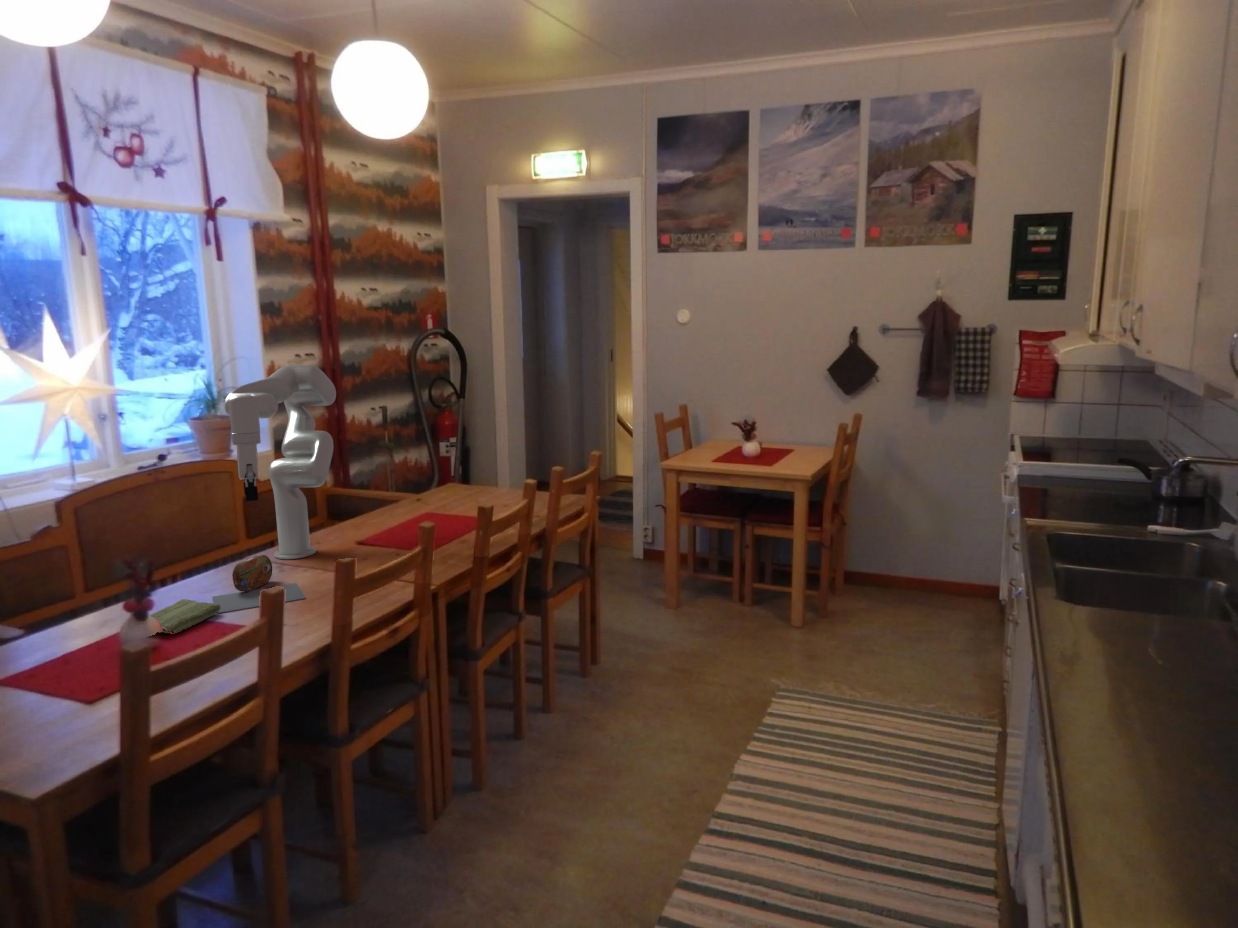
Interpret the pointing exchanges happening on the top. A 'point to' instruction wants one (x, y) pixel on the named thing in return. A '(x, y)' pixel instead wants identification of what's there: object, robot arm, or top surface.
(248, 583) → the tin
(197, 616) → the washcloth
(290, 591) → the mat
